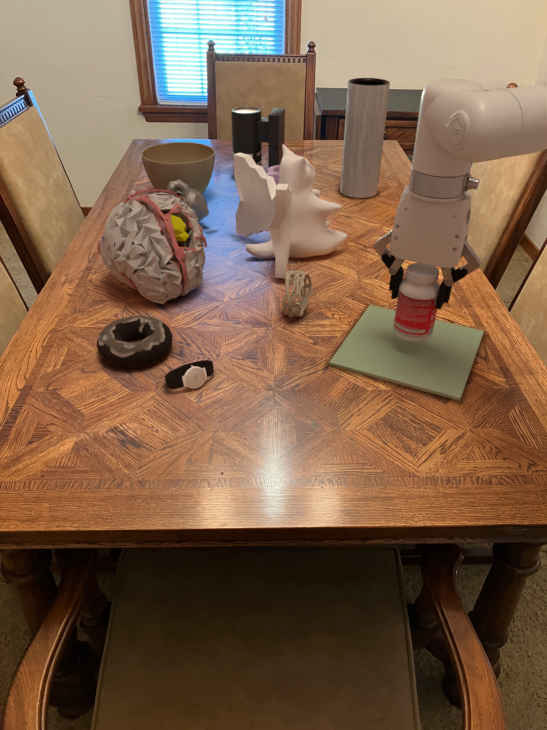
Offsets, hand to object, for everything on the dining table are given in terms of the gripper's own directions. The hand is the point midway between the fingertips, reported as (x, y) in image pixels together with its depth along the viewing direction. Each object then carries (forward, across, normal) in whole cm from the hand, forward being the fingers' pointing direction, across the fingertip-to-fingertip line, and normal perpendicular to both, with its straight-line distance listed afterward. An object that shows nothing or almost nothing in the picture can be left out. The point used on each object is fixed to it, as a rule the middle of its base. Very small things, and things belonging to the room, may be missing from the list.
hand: (417, 299), depth 87 cm
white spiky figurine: (+9, +32, -25) cm, 42 cm away
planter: (+9, +32, -68) cm, 76 cm away
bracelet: (+9, +21, -2) cm, 23 cm away
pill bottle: (+6, 0, 0) cm, 6 cm away
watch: (+9, +27, +23) cm, 37 cm away
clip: (+9, +47, -50) cm, 69 cm away
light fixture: (+9, +62, -67) cm, 92 cm away
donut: (+9, +39, +20) cm, 45 cm away
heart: (+9, +59, -27) cm, 66 cm away
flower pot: (+9, +71, -42) cm, 83 cm away
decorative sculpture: (+9, +49, 0) cm, 50 cm away
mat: (+9, 0, 0) cm, 9 cm away
